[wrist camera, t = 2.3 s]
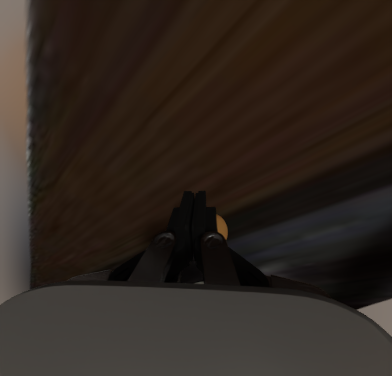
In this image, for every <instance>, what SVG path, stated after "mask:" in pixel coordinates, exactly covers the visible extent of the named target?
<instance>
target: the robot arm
mask: <svg viewBox="0 0 392 376" xmlns="http://www.w3.org/2000/svg"><path fill="white" fill-rule="evenodd" d="M193 251H194V259H195V261H196V263H197V267H198V268H199V270H200V271H201V272H202V273H203V282H204V284H187V283H180V280H181V276H182V270H183V269H184V268H185V267H187V266H189V262H190V261H192V260H193ZM0 376H392V337H391V336H390V335H389V334H388V333H387V332H386V331H385V330H384V329H383V328H381V327H380V326H379V325H378V324H377V323H376V322H374V321H373V320H372V319H370V318H368V317H367V316H366V315H364V314H362V313H361V312H359V311H357V310H355V309H353V308H351V307H349V306H347V305H345V304H343V303H340V302H338V301H336V300H333V299H331V297H330V296H329V295H328V294H327V293H326V292H325V291H323V290H322V289H320V288H319V287H316V286H314V285H310V284H306V283H302V282H298V281H294V280H290V279H286V278H282V277H278V276H274V275H271V276H266V275H264V274H263V273H262V272H261V271H260V270H259V269H257V268H256V267H255V266H253V265H252V264H251V263H249V262H248V261H247V260H245V259H244V258H243V257H241V256H240V255H239V254H237V253H236V252H235V251H233V250H232V249H231V248H229V247H228V245H227V242H226V239H225V237H224V236H223V235H222V234H221V233H219V232H218V229H217V217H216V207H206V191H199V192H198V193H196V196H195V198H194V193H192V192H191V191H184V194H183V198H182V201H181V205H180V208H174V209H173V212H172V215H171V218H170V221H169V224H168V227H167V230H166V231H163V232H160V233H158V234H157V235H155V237H154V238H153V239H152V241H151V243H150V244H149V246H148V248H147V249H146V250H145V251H143V252H142V253H140V254H138V255H137V256H135V257H134V258H132V259H130V260H129V261H127V262H126V263H124V264H122V265H121V266H119V267H118V268H116V269H115V270H114V271H111V270H106V271H101V272H96V273H91V274H86V275H81V276H76V277H73V278H71V279H69V280H68V281H63V282H56V283H52V284H47V285H43V286H40V287H37V288H33V289H30V290H28V291H25V292H23V293H21V294H18V295H16V296H14V297H12V298H11V299H9V300H7V301H5V302H4V303H3V304H1V305H0Z"/></svg>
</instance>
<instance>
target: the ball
mask: <svg viewBox="0 0 392 376" xmlns="http://www.w3.org/2000/svg"><path fill="white" fill-rule="evenodd" d="M216 217H217V229H218V232H219V233H221V234H222V235H223V236H224V237H225V239H226V238H227V234H228V230H227V226H226V223H225V221H224V220H223V219H222V218H221V217H220V216H219V215H217V214H216Z"/></svg>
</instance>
